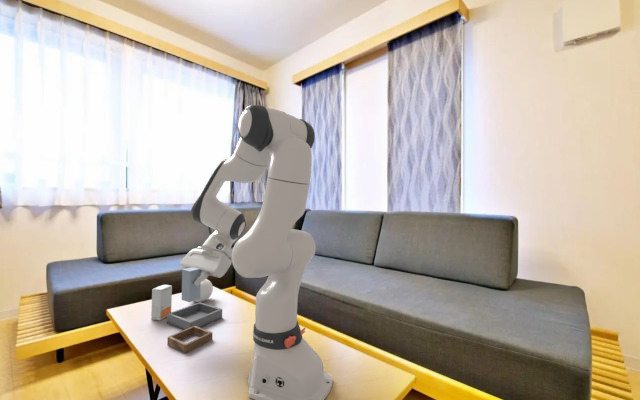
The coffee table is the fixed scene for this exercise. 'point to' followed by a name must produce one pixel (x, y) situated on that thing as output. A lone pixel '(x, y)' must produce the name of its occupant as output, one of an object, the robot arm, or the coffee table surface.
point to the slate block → (190, 284)
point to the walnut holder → (187, 347)
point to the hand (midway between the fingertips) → (189, 283)
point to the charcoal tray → (194, 316)
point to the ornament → (205, 290)
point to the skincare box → (161, 302)
